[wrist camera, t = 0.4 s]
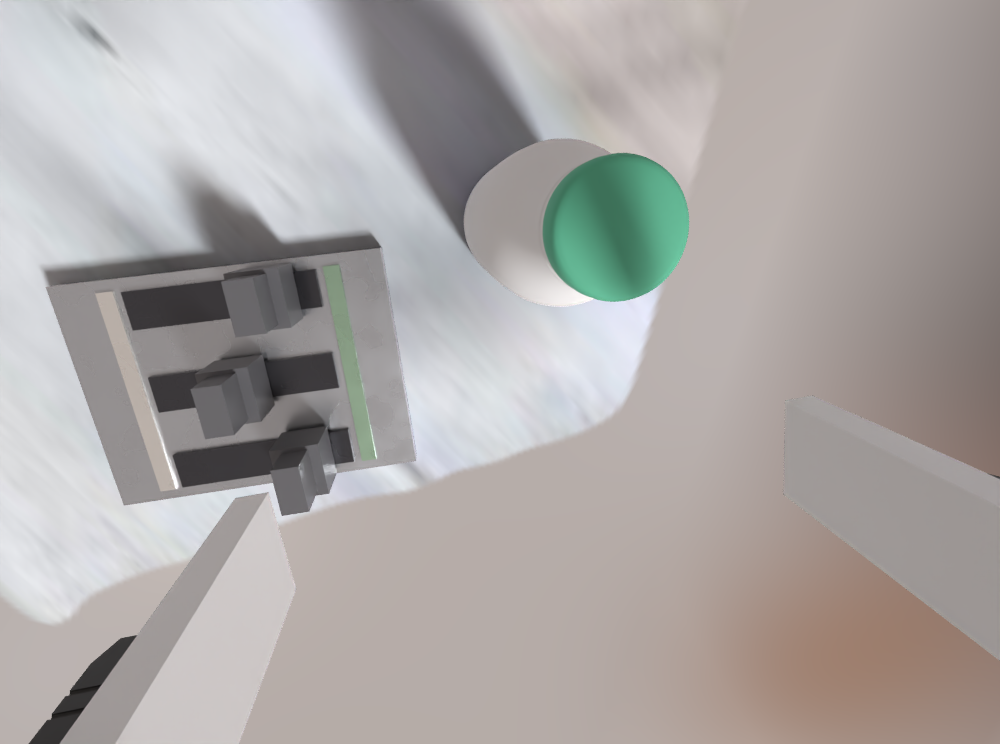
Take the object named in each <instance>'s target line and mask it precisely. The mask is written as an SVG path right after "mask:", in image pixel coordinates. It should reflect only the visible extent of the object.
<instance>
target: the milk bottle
mask: <svg viewBox="0 0 1000 744" xmlns="http://www.w3.org/2000/svg"><path fill="white" fill-rule="evenodd" d="M688 231H689V214H688V208H687V203H686V200H685V197H684V194H683V192H682V190H681V188H680V186H679V185H678V183H677V181H676V180H675V179H674V177H673V176H672V175H671V174H670V173H669V172H668V171H667V170H666V169H665V168H663V167H662V166H661V165H659V164H658V163H656V162H654V161H652V160H650V159H648V158H646V157H643V156H640V155H636V154H630V153H616V154H611V153H609V152H608V151H606V150H605V149H603V148H601V147H598V146H596V145H594V144H591V143H589V142H586V141H581V140H576V139H550V140H545V141H540V142H537V143H534V144H532V145H530V146H527V147H525V148H523V149H521V150H519V151H517V152H515V153H513V154H512V155H510V156H509V157H507V158H506V159H504V160H503V161H502V162H500V163H499V164H497V165H496V166H495V167H494V168H492V169H491V170H490V171H489V172H487V173H486V174H485V175H484V176H483V177H482V178H481V179H480V180H479V181H478V183H477V184H476V185H475V187H474V189H473V190H472V192H471V194H470V196H469V198H468V201H467V204H466V208H465V213H464V232H465V237H466V240H467V244H468V246H469V248H470V250H471V252H472V254H473V256H474V257H475V259H476V260H477V262H478V263H479V264H480V265H481V266H482V267H483V268H484V269H485V270H486V271H487V272H488V273H489V274H490V275H491V276H492V277H493V278H494V279H495V280H497V281H498V282H499V283H500V284H501V285H502V286H504V287H505V288H506V289H508V290H509V291H511V292H512V293H514V294H516V295H517V296H519V297H521V298H523V299H525V300H527V301H530V302H533V303H536V304H541V305H546V306H555V307H564V306H573V305H577V304H581V303H585V302H588V301H591V300H593V299H597V300H602V301H610V302H616V301H625V300H630V299H633V298H636V297H639V296H642V295H644V294H646V293H648V292H650V291H651V290H653V289H654V288H656V287H657V286H659V285H660V284H661V283H662V282H663V281H664V280H665V279H666V278H667V277H668V276H669V275H670V274H671V273H672V271H673V270H674V268H675V267H676V266H677V264H678V262H679V260H680V258H681V256H682V254H683V251H684V248H685V245H686V242H687V238H688Z"/></svg>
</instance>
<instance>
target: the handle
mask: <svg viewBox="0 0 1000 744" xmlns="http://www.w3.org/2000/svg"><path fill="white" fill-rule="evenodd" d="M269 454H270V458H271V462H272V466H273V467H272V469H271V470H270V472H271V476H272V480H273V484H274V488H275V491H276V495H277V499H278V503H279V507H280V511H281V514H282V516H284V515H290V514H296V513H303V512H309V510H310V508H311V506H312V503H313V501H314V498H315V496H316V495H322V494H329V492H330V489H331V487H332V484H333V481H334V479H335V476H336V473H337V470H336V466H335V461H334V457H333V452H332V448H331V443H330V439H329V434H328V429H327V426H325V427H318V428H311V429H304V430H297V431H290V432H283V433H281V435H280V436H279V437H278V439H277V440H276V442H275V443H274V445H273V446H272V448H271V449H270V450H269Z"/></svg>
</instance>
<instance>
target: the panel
mask: <svg viewBox="0 0 1000 744" xmlns="http://www.w3.org/2000/svg"><path fill="white" fill-rule="evenodd" d="M288 263H291V265H292V270H293V274H294V279H295V284H296V288H297V293H298V297H299V302H300V306H301V311H302V315H303V319H302V320H300V321H299V322H298V323H297V324H295V325H294V326H293V327H292V328H285V329H277V330H270V331H269V332H268V333H266V334H260V335H252V336H244V337H236V338H235V334H234V330H233V326H232V322H231V319H230V315H229V311H228V307H227V303H226V299H225V295H224V292H223V288H222V284H221V282H222V281H225V280H224V276H223V274H224V273H228V272H232V271H235V270H239V269H245V268H253V267H262V266H270V265H279V264H288ZM46 289H47V292H48V294H49V297H50V300H51V303H52V306H53V308H54V311H55V314H56V317H57V320H58V322H59V325H60V328H61V331H62V334H63V336H64V339H65V342H66V345H67V348H68V350H69V353H70V356H71V359H72V361H73V364H74V367H75V370H76V373H77V375H78V378H79V381H80V384H81V387H82V389H83V392H84V395H85V398H86V401H87V403H88V406H89V409H90V412H91V415H92V417H93V420H94V423H95V426H96V429H97V431H98V434H99V437H100V440H101V442H102V445H103V448H104V451H105V454H106V456H107V459H108V462H109V465H110V468H111V470H112V473H113V476H114V479H115V482H116V484H117V487H118V490H119V493H120V496H121V498H122V501H123V504H124V505H130V504H137V503H143V502H150V501H156V500H163V499H169V498H176V497H183V496H189V495H196V494H202V493H209V492H215V491H222V490H228V489H235V488H242V487H248V486H255V485H261V484H268V483H273V480H272V476H271V472H270V470H271V469H272V467H273V466H272V462H271V458H270V454H269V450H270V449H271V448H272V446H273V445H274V443H275V442H276V440H277V439H278V437H279V436H280V435H281V433H283V432H290V431H297V430H304V429H311V428H318V427H325V426H327V429H328V434H329V439H330V443H331V448H332V452H333V457H334V461H335V466H336V470H337V473H340V472H347V471H353V470H360V469H366V468H373V467H379V466H386V465H392V464H399V463H406V462H412V461H416V448H415V442H414V436H413V430H412V424H411V418H410V412H409V406H408V400H407V394H406V388H405V382H404V376H403V371H402V365H401V359H400V353H399V347H398V341H397V335H396V329H395V323H394V317H393V311H392V305H391V299H390V293H389V287H388V281H387V275H386V270H385V264H384V258H383V252H382V247H380V248H371V249H362V250H354V251H345V252H336V253H328V254H319V255H311V256H302V257H293V258H285V259H276V260H267V261H259V262H250V263H242V264H233V265H224V266H216V267H207V268H199V269H190V270H181V271H173V272H164V273H155V274H147V275H138V276H130V277H121V278H112V279H104V280H95V281H86V282H78V283H69V284H61V285H55V286H49V287H46ZM256 355H263V359H264V363H265V367H266V371H267V375H268V379H269V383H270V387H271V391H272V395H273V399H274V403H275V406H274V407H273V408H272V409H271V411H270V412H269V413H268V414H267V415H266V417H265V418H264V419H263V420H262V421H261V422H256V423H249V424H244V425H243V426H242V427H241V428H240V430H239V431H238V432H237V433H236V434H235V435H232V436H225V437H218V438H211V439H205V437H204V434H203V430H202V427H201V423H200V420H199V417H198V413H197V410H196V406H195V403H194V400H193V396H192V393H191V388H193V387H194V386H196V385H197V381H196V377H195V374H196V373H197V372H199V371H200V370H202V369H203V368H205V367H206V366H208V365H209V364H211V363H212V362H214V361H218V360H226V359H233V358H241V357H248V356H256Z"/></svg>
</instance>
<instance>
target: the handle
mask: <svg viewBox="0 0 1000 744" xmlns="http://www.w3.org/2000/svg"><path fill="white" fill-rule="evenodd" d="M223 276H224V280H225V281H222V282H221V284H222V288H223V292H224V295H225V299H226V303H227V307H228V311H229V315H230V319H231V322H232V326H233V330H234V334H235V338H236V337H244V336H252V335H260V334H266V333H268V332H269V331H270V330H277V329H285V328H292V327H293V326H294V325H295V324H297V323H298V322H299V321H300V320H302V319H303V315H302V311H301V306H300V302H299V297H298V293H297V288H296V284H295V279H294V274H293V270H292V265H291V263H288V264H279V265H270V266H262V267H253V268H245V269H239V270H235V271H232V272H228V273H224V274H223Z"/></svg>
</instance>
